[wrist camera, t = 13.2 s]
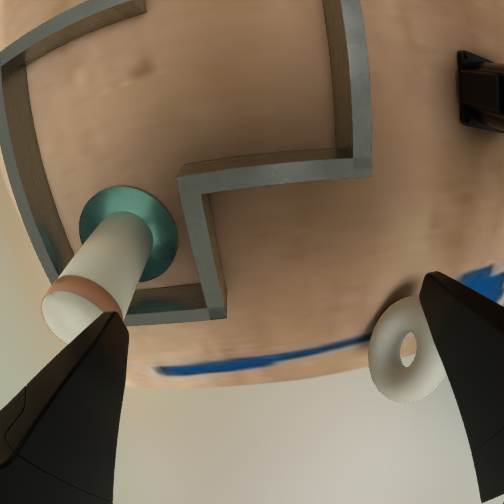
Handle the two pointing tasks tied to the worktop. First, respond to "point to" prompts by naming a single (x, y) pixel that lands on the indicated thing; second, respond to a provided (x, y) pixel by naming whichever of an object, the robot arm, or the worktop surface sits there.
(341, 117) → the channel
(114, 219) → the peg
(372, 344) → the donut
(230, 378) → the worktop surface
